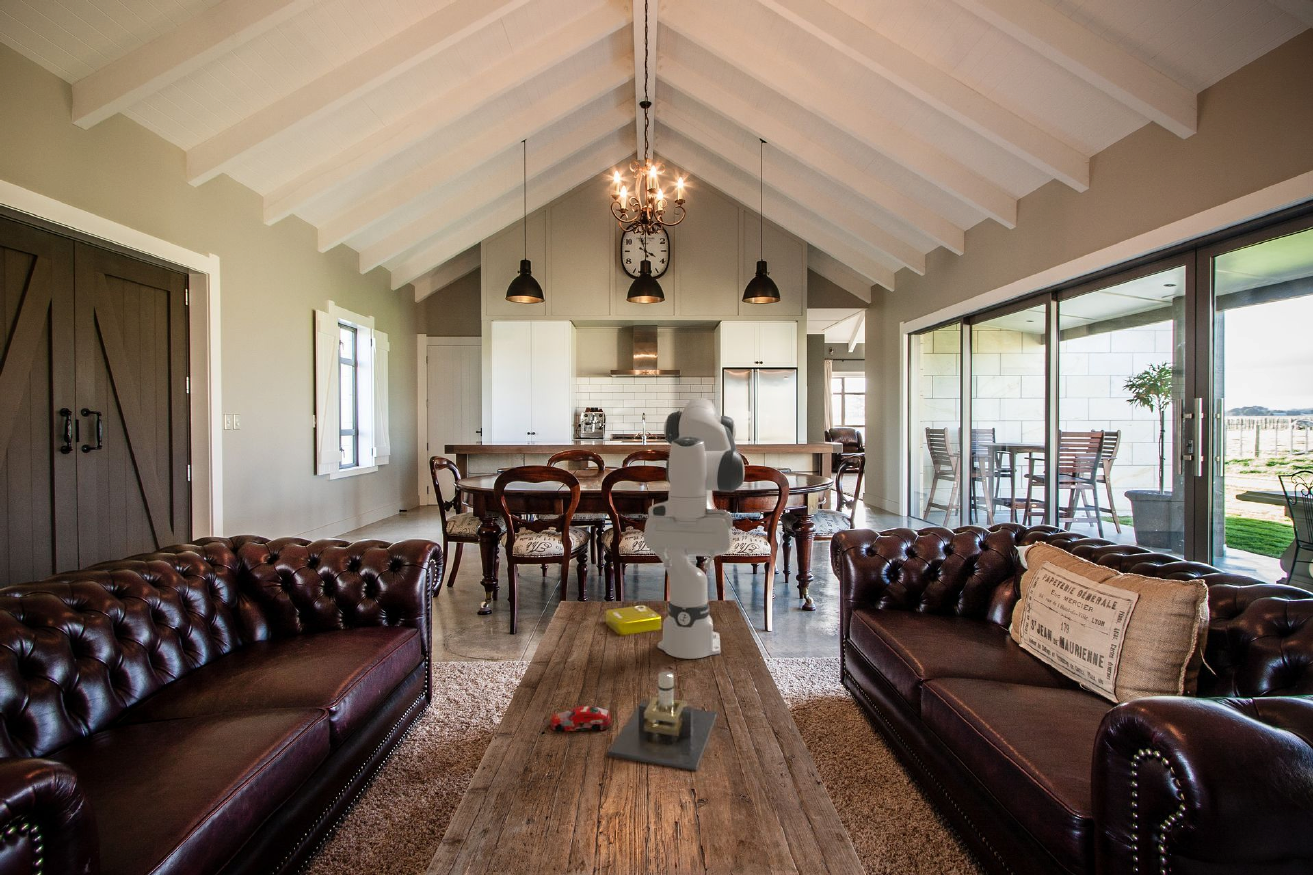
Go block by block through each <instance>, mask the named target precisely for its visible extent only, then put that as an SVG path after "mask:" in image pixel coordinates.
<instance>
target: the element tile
mask: <svg viewBox="0 0 1313 875" xmlns="http://www.w3.org/2000/svg"><path fill="white" fill-rule="evenodd" d="M605 624H606V625H608V627H609V628H611V629H612V630H613V631H614V632H616V634H618V635H621V636H627V635H634V634H635V635H636V634H641V633H647V632H652V631H658V630H661V629H662V616H661V615H660V614H659V613H657V612H655V611H654V610H653V609H651V608H650V607H648V606H646V605H644V604H641V605H636V606H627V607H621V608H619V607H618V608H613V609H608V610H606V611H605Z"/></svg>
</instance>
